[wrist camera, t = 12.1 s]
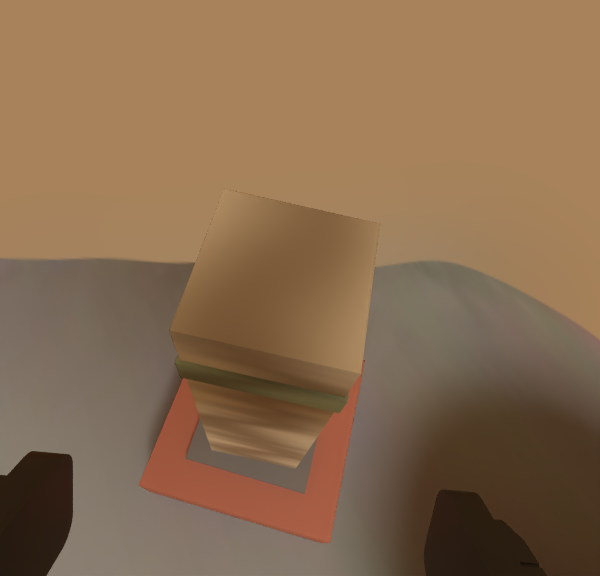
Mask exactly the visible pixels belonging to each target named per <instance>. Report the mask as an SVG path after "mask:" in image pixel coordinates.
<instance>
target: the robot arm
mask: <svg viewBox="0 0 600 576" xmlns="http://www.w3.org/2000/svg"><path fill="white" fill-rule="evenodd" d="M72 517H73V461H72V457H71V456H70V455H69V454H59V453H48V452H37V451H32V452H29V453H28V454H27V455H26V456H25V457H24V458H23V459H22V460H21V461H20V462H19V463H18V464H17V465H16V466H15V467H14V469H13V470H12V471H11V472H10V473H9V474H8V475H7V476H5V475H0V576H46V575H47V574H48V572H49V570H50V569H51V567H52V565H53V564H54V562H55V560H56V559H57V557H58V555H59V554H60V552H61V550H62V548H63V547H64V544H65V542H66V540H67V537H68V534H69V531H70V528H71V523H72ZM424 562H425V570H426V575H427V576H546V574H545V572H544V571H543V569H542V568H539V563H538V562H537V560H536V558H535V557H534V555H533V554H532V552H531V551H530V549H529V548H528V546H527V545H526V543H525V541H524V540H523V539H522V538H521V537H520V536H518V535H517V534H516V533H515V532H514V531H513V530H512V529H511V528H510V527H509V526H508V525H507V524H506V523H504V522H503V521H502V520H494V519H493V517H492V516H491V514H490V512H489V511H488V509H487V507H486V506H485V504H484V502H483V501H482V499H481V498H480V496H479V495H478V494H477V493H474V492H464V491H453V490H441V491H440V492H439V493H438V495H437V498H436V502H435V506H434V511H433V515H432V519H431V523H430V527H429V531H428V535H427V539H426V543H425V550H424Z"/></svg>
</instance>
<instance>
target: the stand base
mask: <svg viewBox="0 0 600 576" xmlns="http://www.w3.org/2000/svg"><path fill="white" fill-rule="evenodd" d="M364 362H365V360H363V362H362V369H361V374H360V376H359V377H358V379H357V380H356V382H355V383H354V385H353V386H352V387H351V389H350V390H349V397H348V402H347V404H346V405H345V406H344V408H343V409H342V410H341V412H340V413H335V412H334V414H333V415H332V416H331V418H330V419H329V421H328V422H327V424H326V425H325V427H324V428H323V430H322V431H321V432H320V434H319V435H318V437H317V438H316V440H315V441H314V443H313V444H312V445H311V447H310V448H309V450H308V451H307V453H306V454H305V456H304V457H303V459H302V460H301V461H300V463H299V464H298V466H297V467H296V469H293V468H289V467H285V466H280V465H276V464H271V463H267V462H263V461H258V460H254V459H249V458H245V457H241V456H236V455H232V454H227V453H223V452H219V451H214V450H211V447H210V444H209V441H208V439H207V436H206V433H205V430H204V427H203V424H202V422H201V419H200V416H199V413H198V410H197V408H196V405H195V402H194V399H193V396H192V393H191V391H190V388H189V385H188V382H187V379H185V378H183V380H182V382H181V384H180V387H179V389H178V392H177V394H176V396H175V399H174V401H173V404H172V406H171V408H170V411H169V413H168V416H167V418H166V421H165V423H164V425H163V428H162V430H161V433H160V435H159V437H158V440H157V442H156V445H155V447H154V449H153V452H152V454H151V457H150V459H149V461H148V464H147V466H146V469H145V471H144V473H143V476H142V478H141V481H140V483H139V486H141V487H143V488H144V489H146V490H148V491H150V492H153V493H157V494H160V495H163V496H167V497H170V498H173V499H177V500H180V501H183V502H187V503H190V504H193V505H197V506H200V507H203V508H207V509H210V510H213V511H217V512H220V513H223V514H227V515H230V516H233V517H236V518H240V519H243V520H246V521H250V522H253V523H256V524H260V525H263V526H266V527H270V528H273V529H276V530H280V531H283V532H286V533H290V534H293V535H296V536H300V537H303V538H306V539H310V540H313V541H316V542H320V543H330V539H331V534H332V529H333V524H334V518H335V513H336V508H337V503H338V498H339V492H340V487H341V482H342V477H343V471H344V466H345V461H346V456H347V450H348V445H349V440H350V435H351V430H352V424H353V419H354V414H355V409H356V403H357V398H358V393H359V388H360V382H361V377H362V372H363V367H364Z"/></svg>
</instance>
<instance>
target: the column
mask: <svg viewBox="0 0 600 576" xmlns="http://www.w3.org/2000/svg"><path fill="white" fill-rule="evenodd" d="M379 228H380V224H379V223H375V222H370V221H366V220H361V219H357V218H352V217H348V216H343V215H339V214H335V213H330V212H325V211H321V210H317V209H313V208H308V207H303V206H299V205H295V204H290V203H286V202H281V201H277V200H272V199H268V198H264V197H259V196H254V195H250V194H246V193H241V192H237V191H231V190H228V189H224V190H223V193H222V196H221V198H220V201H219V203H218V206H217V208H216V211H215V213H214V216H213V219H212V221H211V224H210V227H209V229H208V231H207V234H206V237H205V239H204V242H203V244H202V247H201V250H200V252H199V255H198V257H197V260H196V262H195V265H194V268H193V270H192V273H191V275H190V278H189V280H188V283H187V286H186V288H185V291H184V293H183V296H182V299H181V301H180V304H179V306H178V309H177V311H176V314H175V317H174V319H173V322H172V324H171V327H170V329H169V331H170V334H171V337H172V340H173V343H174V345H175V348H176V351H177V354H178V355H177V358H176V361H175V365H176V367H177V370H178V372H179V375H180V377H181V378H185V379H187V382H188V385H189V388H190V391H191V393H192V396H193V399H194V402H195V405H196V408H197V410H198V413H199V416H200V419H201V422H202V424H203V427H204V430H205V433H206V436H207V439H208V441H209V444H210V447H211V450H214V451H219V452H223V453H227V454H232V455H236V456H241V457H245V458H249V459H254V460H258V461H263V462H267V463H271V464H276V465H280V466H285V467H289V468H293V469H296V467H297V466H298V464H299V463H300V461H301V460H302V459H303V457H304V456H305V454H306V453H307V451H308V450H309V448H310V447H311V445H312V444H313V443H314V441H315V440H316V438H317V437H318V435H319V434H320V432H321V431H322V430H323V428H324V427H325V425H326V424H327V422H328V421H329V419H330V418H331V416H332V415H333V414H334V412H335V413H340V412H341V410H342V409H343V408H344V406H345V405H346V404H347V402H348V397H349V390H350V389H351V387H352V386H353V385H354V383H355V382H356V380H357V379H358V377H359V376H360V374H361V369H362V362H363V354H364V346H365V338H366V330H367V322H368V314H369V307H370V299H371V291H372V283H373V275H374V267H375V259H376V252H377V244H378V236H379Z"/></svg>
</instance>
